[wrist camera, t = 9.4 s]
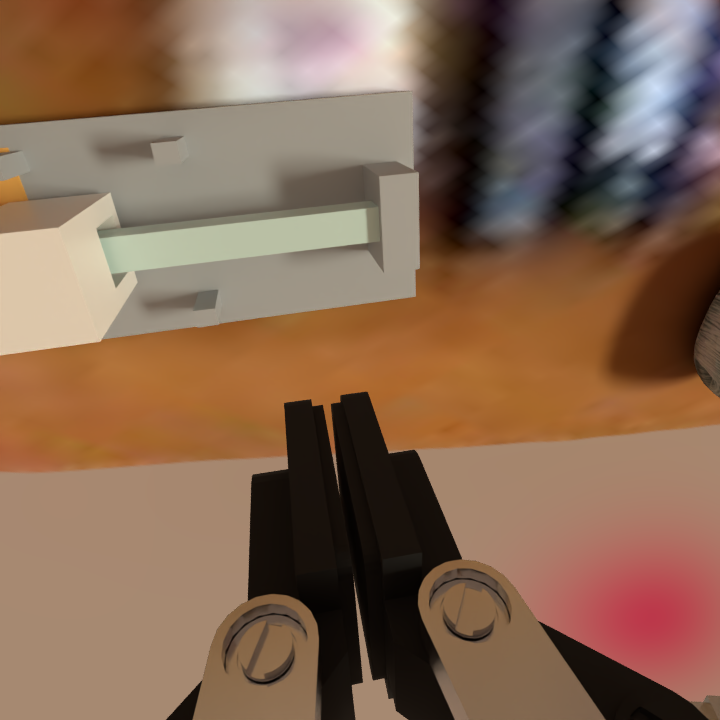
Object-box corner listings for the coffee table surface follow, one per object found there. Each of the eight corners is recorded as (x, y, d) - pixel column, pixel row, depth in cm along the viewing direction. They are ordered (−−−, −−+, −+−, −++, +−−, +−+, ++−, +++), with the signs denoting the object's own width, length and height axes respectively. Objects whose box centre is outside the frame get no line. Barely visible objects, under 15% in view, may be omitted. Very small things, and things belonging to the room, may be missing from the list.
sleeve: (8, 202, 25) (-82, 242, 19) (110, 192, 26) (58, 227, 19) (45, 293, 28) (-23, 358, 21) (137, 282, 28) (100, 341, 22)
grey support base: (-181, 140, 25) (-338, 157, 18) (405, 91, 28) (448, 90, 22) (-64, 352, 30) (-150, 422, 24) (409, 288, 34) (445, 334, 28)
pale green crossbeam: (-128, 249, 24) (-163, 263, 22) (388, 193, 28) (398, 200, 26) (-104, 293, 25) (-135, 310, 23) (389, 234, 29) (399, 245, 27)
